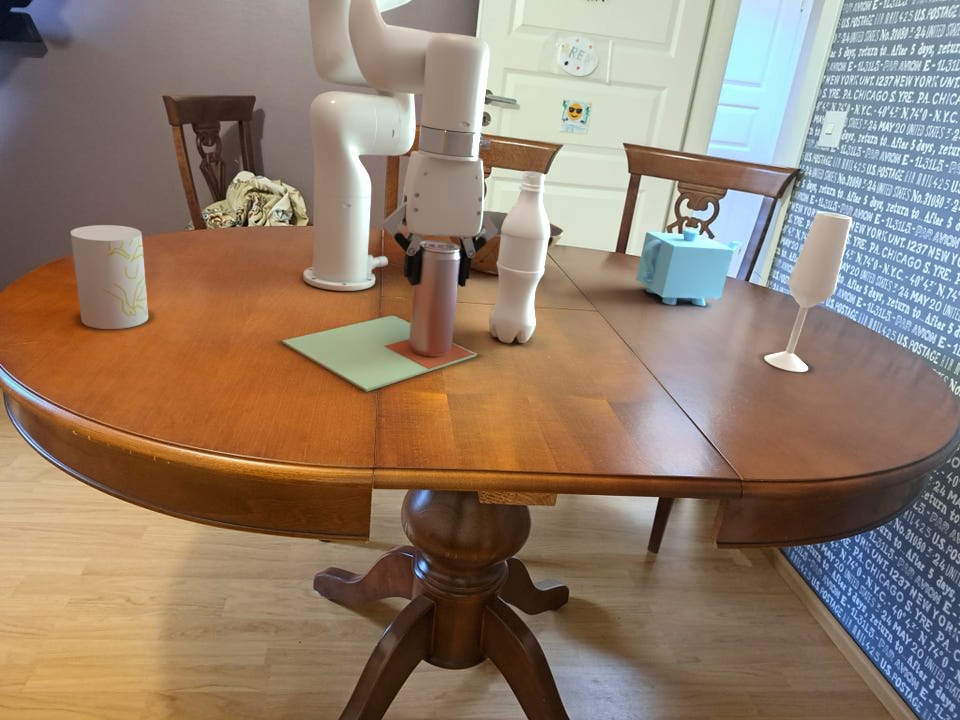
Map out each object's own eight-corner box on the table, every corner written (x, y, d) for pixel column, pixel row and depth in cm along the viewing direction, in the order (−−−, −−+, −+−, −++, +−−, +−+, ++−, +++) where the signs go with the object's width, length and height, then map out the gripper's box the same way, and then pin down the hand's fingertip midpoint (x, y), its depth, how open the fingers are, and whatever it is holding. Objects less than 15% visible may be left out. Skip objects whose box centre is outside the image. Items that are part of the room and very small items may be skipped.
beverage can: (408, 340, 96) (417, 237, 90) (449, 343, 96) (460, 242, 90) (408, 356, 90) (417, 248, 84) (451, 359, 91) (463, 253, 85)
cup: (121, 333, 87) (112, 244, 82) (67, 322, 88) (55, 233, 84) (161, 314, 95) (154, 231, 90) (110, 304, 96) (101, 222, 91)
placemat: (392, 317, 105) (393, 314, 105) (476, 356, 94) (476, 353, 94) (282, 343, 90) (282, 339, 90) (366, 392, 80) (366, 388, 80)
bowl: (579, 281, 138) (588, 233, 134) (490, 294, 122) (497, 241, 118) (499, 249, 155) (505, 207, 151) (412, 257, 139) (416, 210, 135)
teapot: (647, 305, 128) (663, 234, 122) (622, 287, 137) (636, 221, 132) (744, 308, 134) (763, 241, 128) (713, 290, 143) (730, 227, 138)
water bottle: (537, 335, 105) (564, 174, 95) (525, 350, 99) (553, 179, 89) (495, 325, 107) (517, 167, 97) (480, 339, 100) (502, 171, 91)
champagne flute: (813, 365, 108) (864, 218, 98) (801, 375, 103) (853, 221, 93) (771, 351, 111) (816, 208, 102) (758, 360, 106) (804, 211, 97)
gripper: (503, 146, 88) (487, 276, 95) (375, 134, 83) (367, 273, 90) (524, 154, 82) (504, 293, 89) (386, 142, 76) (377, 291, 83)
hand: (436, 281), depth 89 cm, fingers closed on beverage can, 6 cm apart
